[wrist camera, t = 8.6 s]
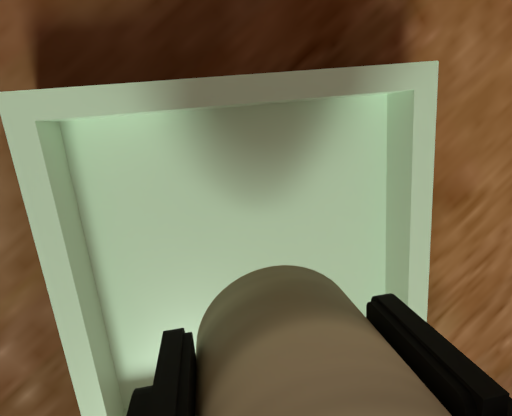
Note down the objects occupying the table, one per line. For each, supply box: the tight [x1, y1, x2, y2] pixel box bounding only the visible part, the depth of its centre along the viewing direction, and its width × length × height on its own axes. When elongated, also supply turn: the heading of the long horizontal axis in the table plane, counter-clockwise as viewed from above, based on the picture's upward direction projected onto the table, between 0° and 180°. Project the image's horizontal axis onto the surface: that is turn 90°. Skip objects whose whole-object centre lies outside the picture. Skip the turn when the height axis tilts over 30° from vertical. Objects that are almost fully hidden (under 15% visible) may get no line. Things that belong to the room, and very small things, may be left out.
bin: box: [0, 61, 439, 416], centre depth 16 cm, size 16×16×3 cm
